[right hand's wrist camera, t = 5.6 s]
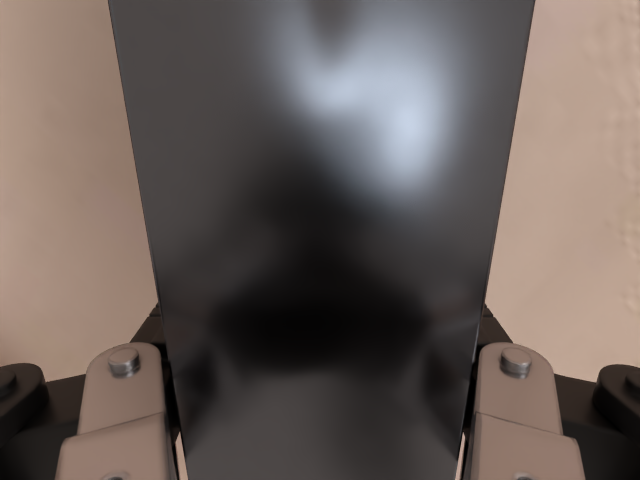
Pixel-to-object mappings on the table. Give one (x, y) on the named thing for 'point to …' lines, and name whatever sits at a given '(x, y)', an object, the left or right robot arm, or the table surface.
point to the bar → (321, 221)
